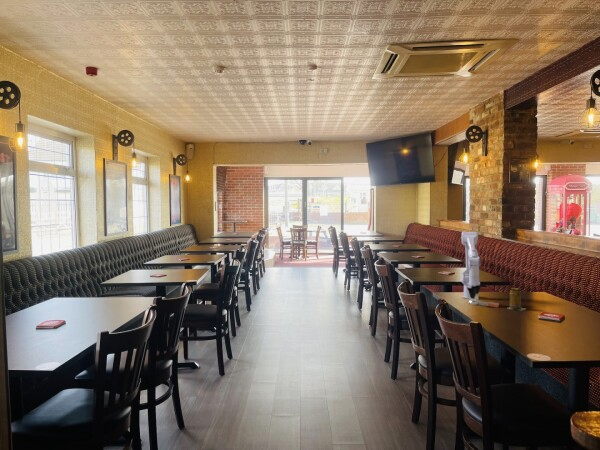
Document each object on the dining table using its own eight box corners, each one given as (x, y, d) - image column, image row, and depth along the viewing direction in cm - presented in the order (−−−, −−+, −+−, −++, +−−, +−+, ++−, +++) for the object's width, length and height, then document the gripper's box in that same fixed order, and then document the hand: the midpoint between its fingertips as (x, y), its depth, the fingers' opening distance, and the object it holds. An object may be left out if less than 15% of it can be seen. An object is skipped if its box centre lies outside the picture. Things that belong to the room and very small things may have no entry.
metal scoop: (466, 304, 271) (466, 297, 271) (470, 302, 277) (470, 295, 277) (496, 308, 260) (496, 301, 259) (500, 306, 265) (500, 299, 265)
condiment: (512, 306, 264) (512, 287, 263) (526, 309, 257) (526, 289, 257) (506, 308, 259) (506, 288, 259) (521, 311, 252) (521, 290, 252)
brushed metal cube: (478, 300, 272) (478, 293, 272) (475, 301, 269) (476, 294, 269) (472, 299, 274) (472, 292, 274) (469, 300, 272) (469, 293, 271)
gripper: (472, 274, 279) (472, 295, 280) (462, 277, 269) (462, 298, 269) (483, 275, 274) (483, 296, 275) (474, 278, 264) (474, 300, 264)
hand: (473, 297), depth 272 cm, fingers closed on brushed metal cube, 4 cm apart
